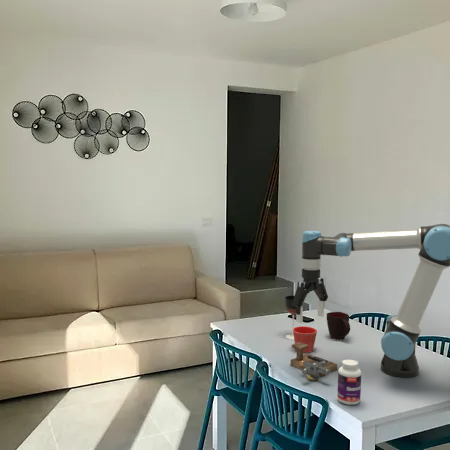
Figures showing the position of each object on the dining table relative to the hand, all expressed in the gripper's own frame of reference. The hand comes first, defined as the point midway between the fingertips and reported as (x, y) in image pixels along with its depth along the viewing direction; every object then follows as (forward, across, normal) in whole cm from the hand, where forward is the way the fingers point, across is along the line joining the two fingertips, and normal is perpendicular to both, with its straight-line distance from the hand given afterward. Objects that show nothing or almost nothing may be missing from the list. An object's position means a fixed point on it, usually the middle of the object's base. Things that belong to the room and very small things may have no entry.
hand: (310, 318), depth 211 cm
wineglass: (+21, -26, -32) cm, 47 cm away
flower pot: (+22, -16, -16) cm, 31 cm away
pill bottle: (+22, +13, +29) cm, 38 cm away
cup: (+22, -41, -15) cm, 48 cm away
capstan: (+21, +8, +9) cm, 24 cm away
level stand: (+21, -2, 0) cm, 21 cm away
